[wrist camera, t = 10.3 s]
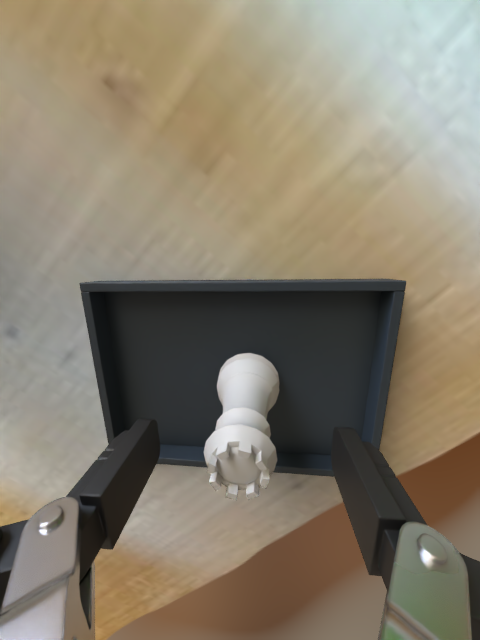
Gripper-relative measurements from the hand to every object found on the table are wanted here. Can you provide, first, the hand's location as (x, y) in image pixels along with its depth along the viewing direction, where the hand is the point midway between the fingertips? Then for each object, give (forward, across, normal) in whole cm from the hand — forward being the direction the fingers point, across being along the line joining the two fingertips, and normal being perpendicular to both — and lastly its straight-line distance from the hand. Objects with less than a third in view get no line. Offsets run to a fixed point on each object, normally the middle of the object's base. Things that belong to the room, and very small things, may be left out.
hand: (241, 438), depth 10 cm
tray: (+7, +1, +1) cm, 7 cm away
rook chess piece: (+7, 0, +1) cm, 7 cm away
